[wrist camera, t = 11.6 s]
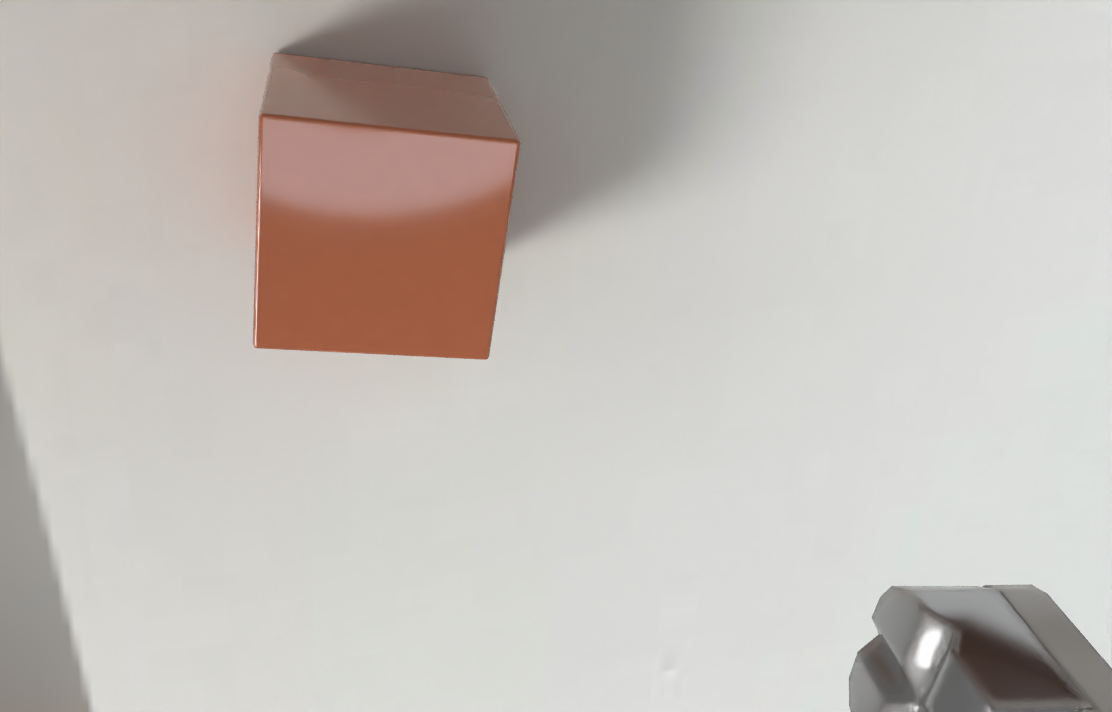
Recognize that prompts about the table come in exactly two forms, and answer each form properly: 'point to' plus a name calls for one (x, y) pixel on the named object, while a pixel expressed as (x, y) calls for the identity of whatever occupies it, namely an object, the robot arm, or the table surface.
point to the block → (380, 209)
